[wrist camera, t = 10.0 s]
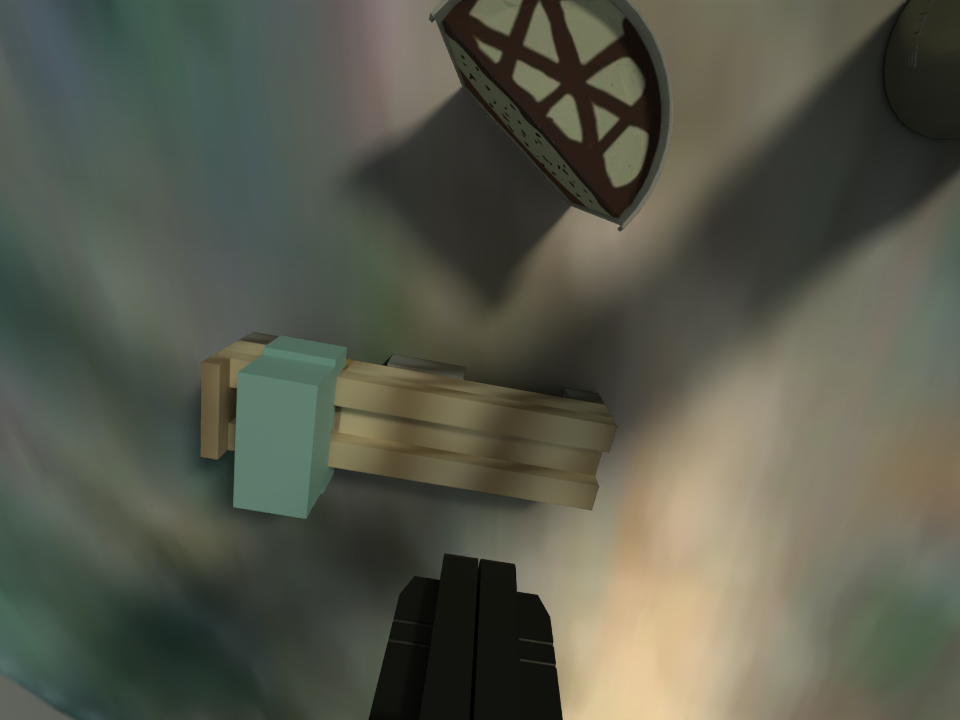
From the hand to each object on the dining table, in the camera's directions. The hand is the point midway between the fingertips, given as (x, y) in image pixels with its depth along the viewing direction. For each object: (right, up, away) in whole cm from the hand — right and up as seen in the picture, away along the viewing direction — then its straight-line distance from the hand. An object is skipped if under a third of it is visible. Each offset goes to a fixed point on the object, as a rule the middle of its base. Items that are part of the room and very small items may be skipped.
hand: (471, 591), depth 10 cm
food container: (+5, +20, +19) cm, 28 cm away
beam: (-4, +2, +24) cm, 25 cm away
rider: (-11, +2, +21) cm, 23 cm away
